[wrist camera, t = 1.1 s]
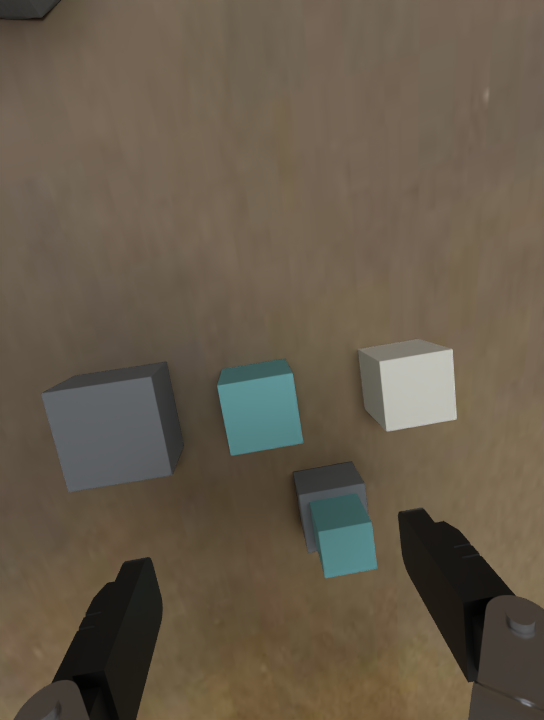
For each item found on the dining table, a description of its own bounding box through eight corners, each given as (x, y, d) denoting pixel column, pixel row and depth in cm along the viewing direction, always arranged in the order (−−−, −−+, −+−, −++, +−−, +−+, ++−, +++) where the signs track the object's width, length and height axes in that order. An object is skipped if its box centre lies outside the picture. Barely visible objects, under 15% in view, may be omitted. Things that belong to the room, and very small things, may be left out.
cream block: (364, 408, 31) (386, 431, 26) (357, 349, 30) (379, 361, 25) (423, 398, 31) (456, 419, 26) (418, 338, 30) (452, 349, 25)
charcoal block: (97, 458, 30) (68, 492, 25) (76, 375, 29) (40, 393, 24) (184, 444, 30) (172, 475, 25) (166, 361, 29) (150, 376, 24)
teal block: (233, 428, 30) (230, 456, 25) (222, 369, 29) (217, 385, 24) (294, 417, 30) (303, 443, 26) (284, 358, 29) (292, 372, 25)
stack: (301, 524, 32) (316, 589, 25) (293, 472, 31) (306, 524, 24) (358, 514, 32) (388, 575, 26) (351, 461, 31) (381, 510, 25)
